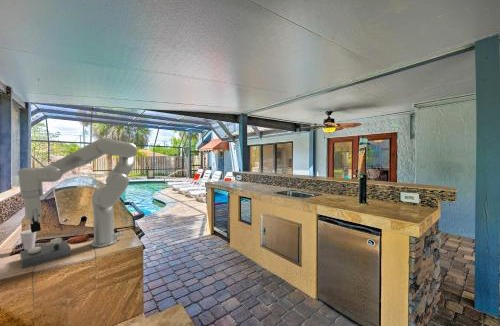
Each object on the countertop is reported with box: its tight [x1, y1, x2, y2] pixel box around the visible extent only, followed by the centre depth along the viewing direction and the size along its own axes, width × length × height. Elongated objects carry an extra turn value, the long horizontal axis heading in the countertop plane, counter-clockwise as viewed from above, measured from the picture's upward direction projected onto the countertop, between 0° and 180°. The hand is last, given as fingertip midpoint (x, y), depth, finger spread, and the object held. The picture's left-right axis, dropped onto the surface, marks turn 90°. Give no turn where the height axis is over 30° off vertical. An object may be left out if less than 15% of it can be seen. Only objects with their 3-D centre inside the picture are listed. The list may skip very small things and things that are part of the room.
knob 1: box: [28, 246, 41, 254], centre depth 106 cm, size 4×4×5 cm
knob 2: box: [49, 237, 63, 248], centre depth 112 cm, size 4×4×5 cm
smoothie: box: [19, 222, 37, 251], centre depth 117 cm, size 6×6×14 cm
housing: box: [19, 240, 72, 269], centre depth 109 cm, size 17×12×4 cm
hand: (36, 231), depth 106 cm, fingers closed
